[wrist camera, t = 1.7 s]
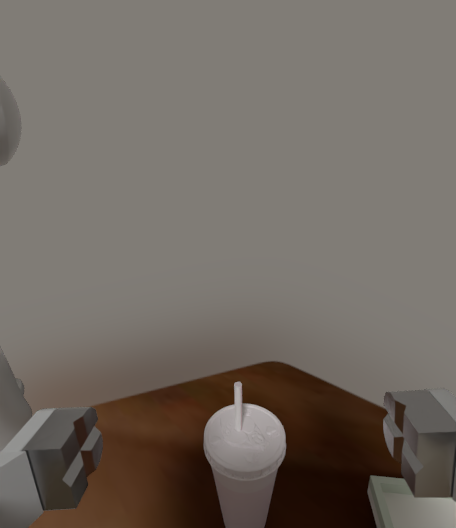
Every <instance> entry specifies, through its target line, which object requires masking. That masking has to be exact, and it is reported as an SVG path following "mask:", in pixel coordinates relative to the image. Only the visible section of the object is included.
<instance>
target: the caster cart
mask: <svg viewBox="0 0 456 528" xmlns="http://www.w3.org/2000/svg"><path fill="white" fill-rule="evenodd" d="M367 492H368V496H369V500H370V504H371V507H372V511H373V515H374V519H375V522H376V526H377V528H456V502H455V501H454V500H452V498H415V497H414V496H413V494H412V492H411V490H410V488H409V487H408V485H407V483H406V481H405V479H401V478H391V477H381V476H372V475H370V480H369V485H368V491H367Z"/></svg>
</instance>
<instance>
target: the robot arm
mask: <svg viewBox="0 0 456 528" xmlns="http://www.w3.org/2000/svg"><path fill="white" fill-rule="evenodd" d="M20 137H21V118H20V113H19V109H18V106H17V103H16V100H15V99H14V96H13V94H12V92H11V91H10V89H9V87H8V86H7V85H6V83H5V81H4V80H3V79H2V78H1V77H0V166H2V165H5V164H7V163H8V161H10V159H11V158H12V157H13V155H14V154H15V152H16V150H17V147H18V145H19V141H20ZM23 394H24V385H23V383H22V381H21V380H20V379H15V377H14V375H13V372H12V370H11V368H10V366H9V364H8V361H7V359H6V357H5V355H4V353H3V351H2V349H1V347H0V528H28V527H29V526H30V525H31V524H32V523H33V522H34V521H35V520H36V519H37V518H38V517H39V516H40V515H41V514H42V513H43V511H45V510H60V509H76V508H77V506H78V504H79V502H80V500H81V498H82V496H83V494H84V492H85V490H86V488H87V486H88V482H87V477H88V476H89V475H90V474H91V473H92V472H94V471H95V470H96V468H97V466H98V464H99V462H100V459H101V454H102V450H103V440H102V435H101V432H100V431H99V430H98V429H97V428H96V427H95V424H96V422H97V420H98V417H97V413H96V410H95V409H94V408H92V407H77V408H50V409H41V410H38V411H37V412H36V413H35V414H34V415H33V416H32V411H31V408H30V406H29V404H28V403H27V401H26V400H25V399H24V397H23ZM384 406H385V408H386V410H387V411H388V415H387V416H386V417H385V418H384V419H383V428H384V435H385V441H386V444H387V446H388V449H389V451H390V453H391V455H392V457H393V458H394V459H395V460H396V461H398V462H399V463H401V464H402V465H401V474H402V476H403V477H404V479H405V481H406V483H407V485H408V487H409V488H410V490H411V492H412V494H413V496H414V497H415V498H452V500H454V501H455V502H456V397H455V396H454V395H453V394H452V393H451V392H450V391H449V390H447V389H445V388H435V389H424V390H415V391H399V392H386V393H385V396H384Z"/></svg>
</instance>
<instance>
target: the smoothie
mask: <svg viewBox="0 0 456 528" xmlns="http://www.w3.org/2000/svg"><path fill="white" fill-rule="evenodd" d="M234 396H235V404H234V405H230V406H227V407H224V408H222V409H221V410H219V411H218V412H216V413H215V414H214V415H213V416H212V417H211V418H210V419H209V421H208V423H207V425H206V427H205V430H204V451H205V456H206V458H207V460H208V461H209V463H210V465H211V467H212V471H213V475H214V479H215V484H216V488H217V493H218V497H219V502H220V506H221V511H222V515H223V520H224V524H225V527H226V528H264V527H265V523H266V519H267V514H268V510H269V505H270V501H271V496H272V492H273V487H274V483H275V478H276V474H277V470H278V467H279V466H280V465H281V463H282V461H283V459H284V456H285V452H286V442H285V440H286V438H285V431H284V428H283V426H282V424H281V422H280V421H279V419H278V418H277V417H276V416H275V415H274V414H273V413H271V412H270V411H268V410H267V409H265V408H263V407H260V406H257V405H253V404H245V403H244V404H242V383H241V382H236V383H235V384H234Z"/></svg>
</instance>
